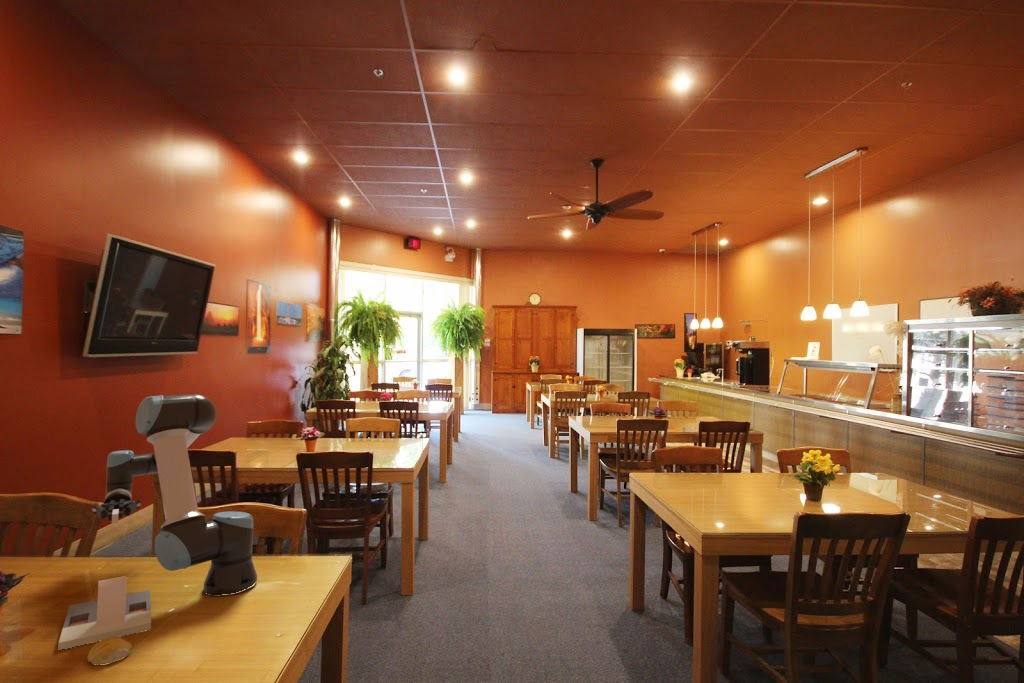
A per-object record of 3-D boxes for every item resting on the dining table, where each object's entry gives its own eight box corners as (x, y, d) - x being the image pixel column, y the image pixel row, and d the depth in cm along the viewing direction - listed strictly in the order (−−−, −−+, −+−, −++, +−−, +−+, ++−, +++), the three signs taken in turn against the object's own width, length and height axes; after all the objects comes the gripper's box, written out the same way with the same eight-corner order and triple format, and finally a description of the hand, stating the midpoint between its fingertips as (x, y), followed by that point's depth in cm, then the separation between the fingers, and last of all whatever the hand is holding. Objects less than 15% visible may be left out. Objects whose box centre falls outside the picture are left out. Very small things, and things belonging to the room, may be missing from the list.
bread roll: (119, 644, 135) (120, 628, 136) (136, 655, 131) (137, 638, 131) (80, 659, 128) (81, 642, 129) (96, 671, 124) (97, 653, 124)
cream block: (96, 622, 142) (98, 580, 142) (124, 616, 145) (126, 575, 146) (96, 632, 137) (98, 588, 137) (124, 625, 140) (126, 583, 141)
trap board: (69, 612, 151) (69, 605, 151) (149, 596, 162) (150, 589, 162) (62, 636, 138) (62, 628, 138) (150, 617, 149) (150, 610, 149)
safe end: (62, 636, 138) (62, 628, 138) (150, 617, 149) (150, 610, 149) (58, 651, 131) (58, 642, 131) (150, 630, 142) (151, 622, 142)
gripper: (140, 510, 183) (140, 527, 164) (92, 516, 176) (86, 534, 157) (141, 488, 184) (141, 503, 164) (93, 493, 176) (88, 509, 157)
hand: (114, 518), depth 161 cm, fingers closed
